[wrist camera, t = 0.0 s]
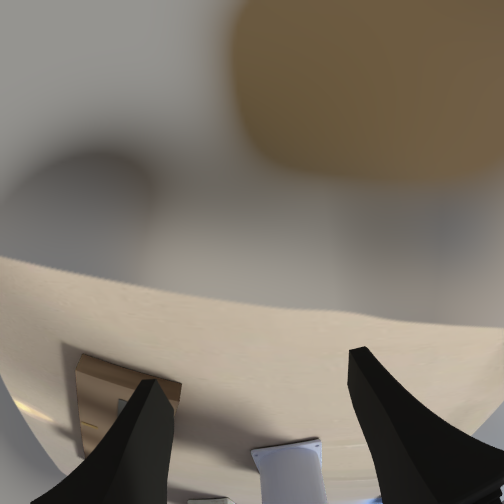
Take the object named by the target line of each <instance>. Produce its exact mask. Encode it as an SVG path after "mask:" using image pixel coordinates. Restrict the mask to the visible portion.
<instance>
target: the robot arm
mask: <svg viewBox="0 0 504 504" xmlns="http://www.w3.org/2000/svg"><path fill="white" fill-rule="evenodd" d="M347 385H348V389H349V393H350V397H351V400H352V404H353V408H354V410H355V413H356V416H357V418H358V421H359V424H360V426H361V429H362V431H363V434H364V436H365V439H366V442H367V444H368V447H369V450H370V452H371V455H372V458H373V461H374V465H375V469H376V474H377V478H378V482H379V487H380V492H381V497H382V502H383V504H504V501H502V502H501V500H500V496H502V491H501V489H500V487H501V486H502V485H504V451H503V450H500V449H497V448H495V447H493V446H490V445H488V444H485V443H483V442H481V441H479V440H477V439H475V438H473V437H471V436H469V435H467V434H466V433H464V432H462V431H461V430H459V429H457V428H455V427H454V426H452V425H450V424H449V423H447V422H446V421H444V420H443V419H441V418H440V417H439V416H437V415H436V414H434V413H433V412H432V411H430V410H429V409H428V408H427V407H425V406H424V405H423V404H422V403H421V402H419V401H418V400H417V399H416V398H415V397H414V396H412V395H411V394H410V393H409V392H408V391H407V390H406V389H405V388H404V387H403V386H402V385H401V384H400V383H399V382H398V381H397V380H396V379H395V378H394V377H393V376H392V375H391V374H390V373H389V372H388V371H387V370H386V369H385V368H384V367H383V365H382V364H381V363H380V362H379V361H378V360H377V359H376V358H375V356H374V355H373V354H372V353H371V352H370V350H369V349H368V348H367V347H365V346H364V347H360V348H356V349H352V350H349V364H348V382H347ZM173 434H174V408H173V407H172V405H171V403H170V402H169V400H168V398H167V397H166V395H165V393H164V391H163V390H162V388H161V386H160V385H159V383H158V381H157V379H142V380H141V382H140V383H139V385H138V386H137V388H136V389H135V391H134V392H133V394H132V396H131V397H130V399H129V400H128V402H127V403H126V405H125V407H124V408H123V410H122V411H121V413H120V414H119V416H118V417H117V419H116V420H115V422H114V423H113V425H112V426H111V428H110V429H109V430H108V432H107V433H106V434H105V436H104V437H103V438H102V440H101V441H100V442H99V444H98V445H97V446H96V447H95V449H94V450H93V451H92V452H91V453H90V454H89V455H88V457H87V458H86V459H85V460H84V461H83V462H82V463H81V464H80V465H79V466H78V467H77V468H76V469H75V470H74V471H73V472H72V473H70V474H69V475H68V476H67V477H66V478H65V479H64V480H62V481H61V482H60V483H59V484H57V485H56V486H55V487H53V488H52V489H51V490H49V491H48V492H47V493H45V494H43V495H42V496H40V497H38V498H37V499H35V500H34V501H32V502H31V503H30V504H167V478H168V471H169V463H170V456H171V449H172V442H173ZM251 455H252V457H253V459H254V462H255V464H256V466H257V468H258V470H259V473H260V481H261V495H262V504H328V502H327V496H326V491H325V486H324V481H323V476H322V471H321V469H322V442H321V440H320V439H317V440H311V441H306V442H301V443H295V444H289V445H282V446H276V447H269V448H261V449H253V450H251Z"/></svg>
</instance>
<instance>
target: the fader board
mask: <svg viewBox="0 0 504 504" xmlns="http://www.w3.org/2000/svg"><path fill="white" fill-rule="evenodd" d="M75 374H76V388H77V400H78V410H79V418H80V426H81V434H82V440H83V447H84V453H85V459H86V458H87V457H88V455H89V454H90V453H91V452H92V451H93V450H94V449H95V447H96V446H97V445H98V444H99V442H100V441H101V440H102V438H103V437H104V436H105V434H106V433H107V432H108V430H109V429H110V428H111V426H112V425H113V423H114V422H115V420H116V419H117V417H118V416H119V414H120V413H121V411H122V410H123V408H124V407H125V405H126V403H127V402H128V400H129V399H130V397H131V396H132V394H133V392H134V391H135V389H136V388H137V386H138V385H139V383H140V382H141V380H142V379H157V381H158V383H159V385H160V386H161V388H162V390H163V391H164V393H165V395H166V397H167V398H168V400H169V402H170V403H171V405H172V407H173V408H174V416H175V413H176V410H177V407H178V404H179V401H180V394H181V386H182V384H180V383H176V382H172V381H168V380H165V379H161V378H157V377H154V376H150V375H147V374H143V373H140V372H136V371H133V370H130V369H126V368H123V367H120V366H117V365H114V364H111V363H108V362H105V361H102V360H99V359H96V358H93V357H90V356H88V355H85V354H82V356H81V359H80V361H79V363H78V365H77V367H76V370H75Z"/></svg>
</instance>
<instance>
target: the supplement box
mask: <svg viewBox="0 0 504 504" xmlns="http://www.w3.org/2000/svg"><path fill="white" fill-rule="evenodd" d="M187 504H236V503H234V502H233V501H232V500H230V499H229V498H223V499H208V500H188V503H187Z"/></svg>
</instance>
